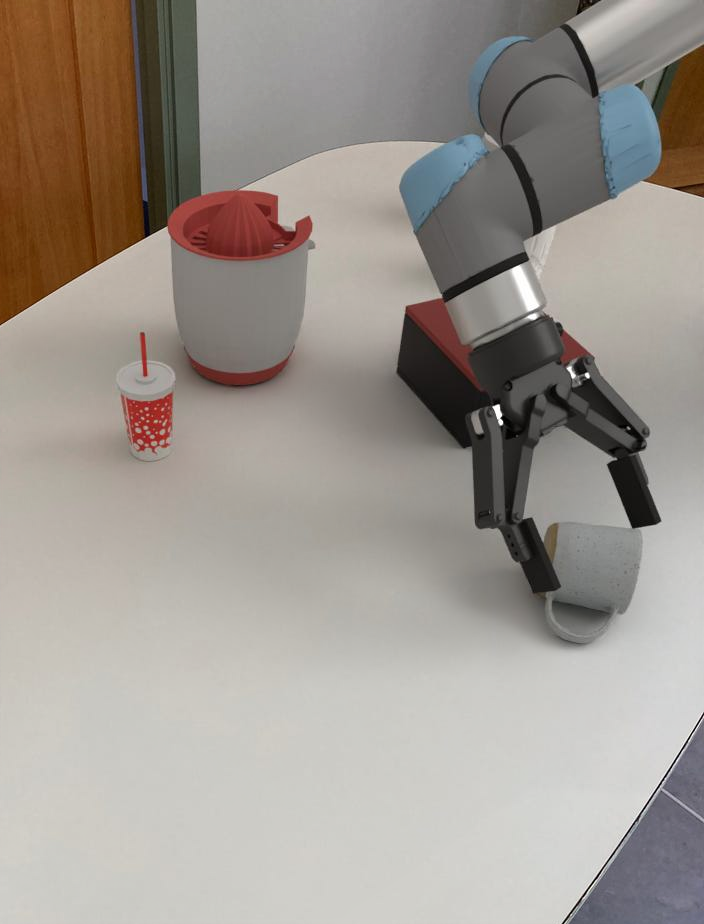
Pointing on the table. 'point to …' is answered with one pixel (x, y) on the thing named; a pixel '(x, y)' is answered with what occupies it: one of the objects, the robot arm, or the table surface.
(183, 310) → the citrus juicer
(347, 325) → the table surface
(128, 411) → the beverage cup
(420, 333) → the black box
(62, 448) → the table surface
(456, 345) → the box lid
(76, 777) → the table surface
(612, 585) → the ceramic mug
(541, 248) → the white cup
